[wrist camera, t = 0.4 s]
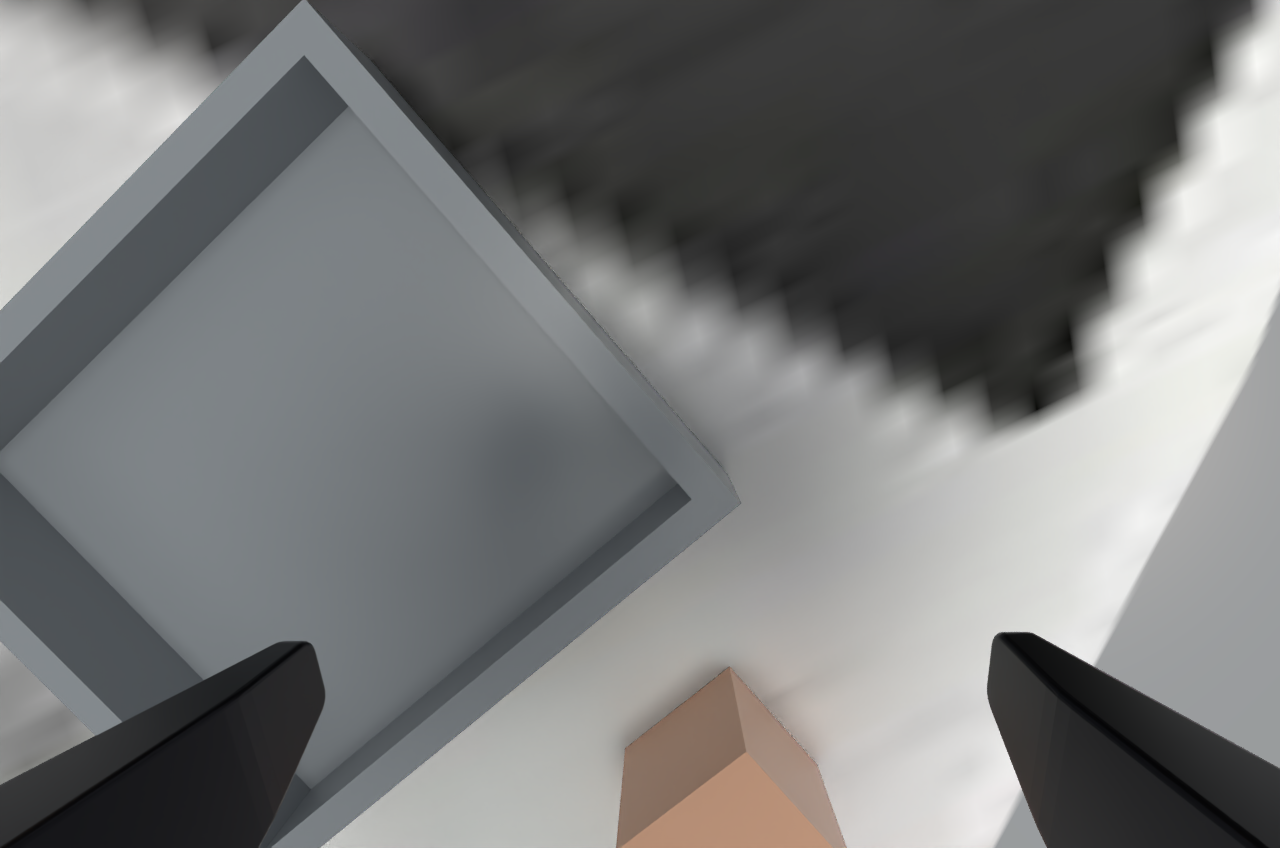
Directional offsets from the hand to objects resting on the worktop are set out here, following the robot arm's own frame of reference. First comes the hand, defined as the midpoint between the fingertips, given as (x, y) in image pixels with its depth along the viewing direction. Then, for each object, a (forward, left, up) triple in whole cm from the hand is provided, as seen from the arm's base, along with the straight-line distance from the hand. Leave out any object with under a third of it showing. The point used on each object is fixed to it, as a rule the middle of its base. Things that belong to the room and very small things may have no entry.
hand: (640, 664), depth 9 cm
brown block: (-5, -10, -15) cm, 19 cm away
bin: (-8, +7, -14) cm, 18 cm away
